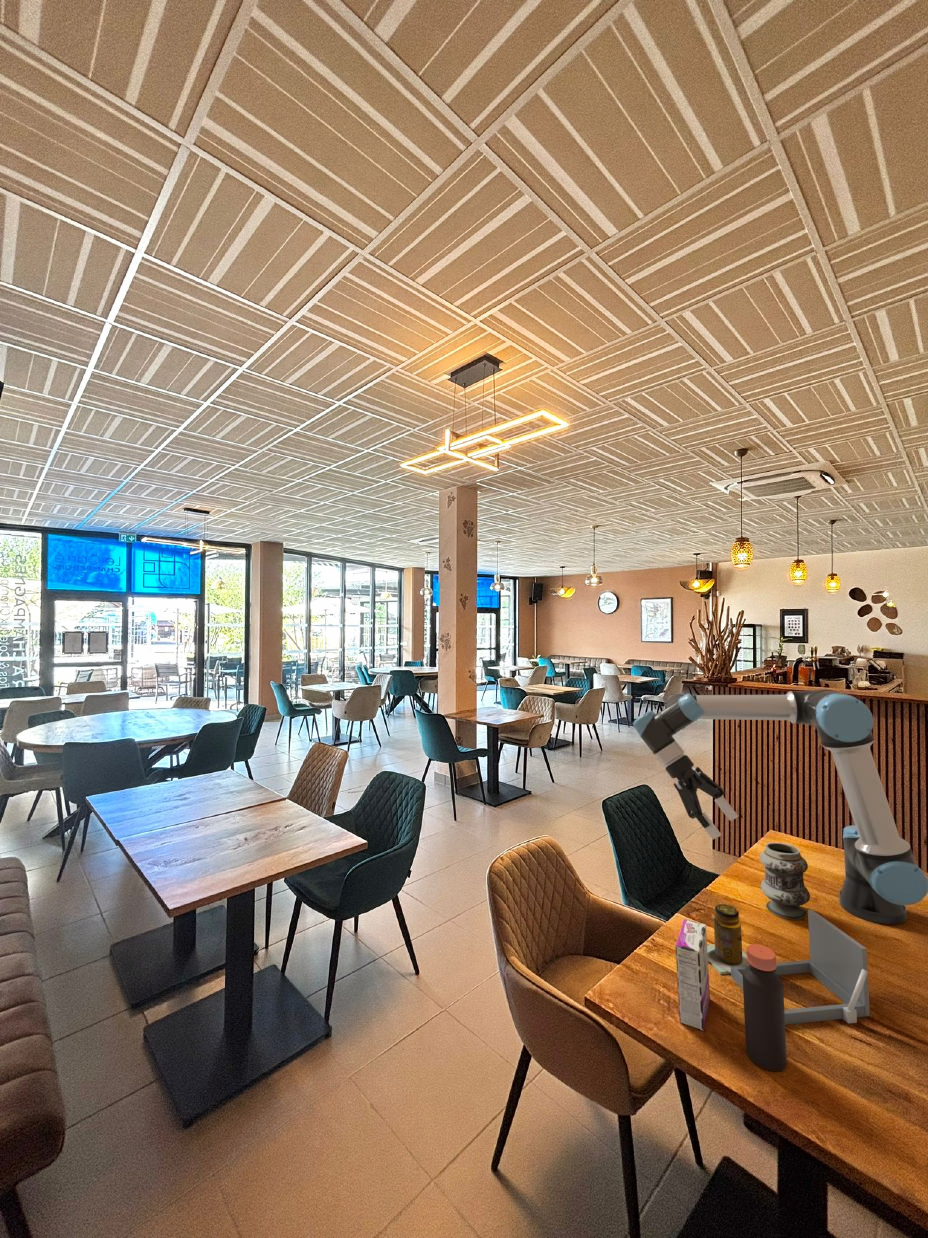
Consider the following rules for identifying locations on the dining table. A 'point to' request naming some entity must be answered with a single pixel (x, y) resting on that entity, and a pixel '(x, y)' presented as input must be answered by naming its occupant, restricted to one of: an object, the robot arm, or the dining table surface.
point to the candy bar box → (692, 974)
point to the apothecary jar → (784, 880)
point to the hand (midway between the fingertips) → (726, 827)
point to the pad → (719, 969)
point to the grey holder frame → (828, 973)
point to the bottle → (764, 1009)
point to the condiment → (727, 938)
